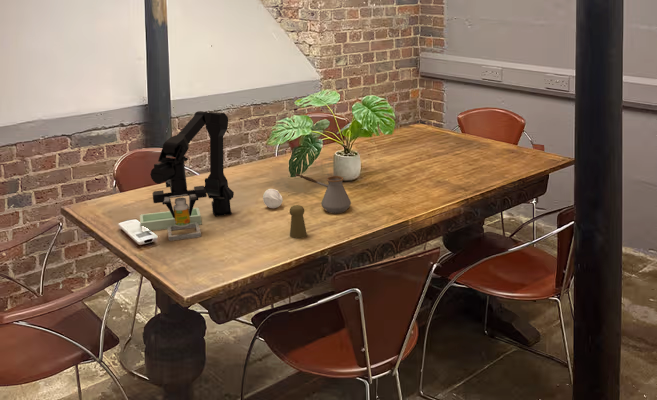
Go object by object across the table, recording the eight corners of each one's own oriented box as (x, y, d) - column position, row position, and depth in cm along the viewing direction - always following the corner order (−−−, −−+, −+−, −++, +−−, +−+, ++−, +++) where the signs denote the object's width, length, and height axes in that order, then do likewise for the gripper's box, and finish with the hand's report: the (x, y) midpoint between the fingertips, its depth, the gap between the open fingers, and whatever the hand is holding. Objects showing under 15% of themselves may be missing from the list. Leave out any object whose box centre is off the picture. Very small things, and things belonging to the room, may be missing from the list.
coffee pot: (351, 204, 283) (350, 168, 278) (350, 215, 272) (349, 177, 267) (298, 205, 285) (296, 169, 280) (294, 215, 274) (292, 178, 269)
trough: (199, 216, 278) (198, 207, 276) (201, 224, 269) (200, 215, 268) (141, 223, 273) (139, 214, 271) (141, 232, 264) (140, 223, 263)
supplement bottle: (176, 228, 257) (173, 202, 254) (174, 223, 262) (171, 197, 259) (191, 226, 258) (188, 200, 255) (189, 221, 263) (187, 196, 260)
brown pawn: (306, 231, 258) (305, 202, 254) (306, 238, 252) (305, 208, 249) (290, 232, 258) (288, 203, 254) (289, 238, 252) (288, 209, 248)
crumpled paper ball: (282, 210, 280) (280, 192, 277) (262, 211, 280) (261, 192, 277) (283, 203, 287) (282, 185, 285) (264, 204, 288) (263, 186, 285)
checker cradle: (198, 225, 268) (198, 222, 267) (201, 236, 257) (200, 232, 257) (167, 229, 265) (166, 226, 265) (169, 241, 255) (168, 237, 254)
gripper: (201, 166, 263) (205, 206, 269) (149, 172, 259) (154, 212, 264) (204, 174, 253) (208, 216, 258) (150, 181, 249) (156, 223, 254)
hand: (182, 216), depth 259 cm, fingers closed on supplement bottle, 5 cm apart
